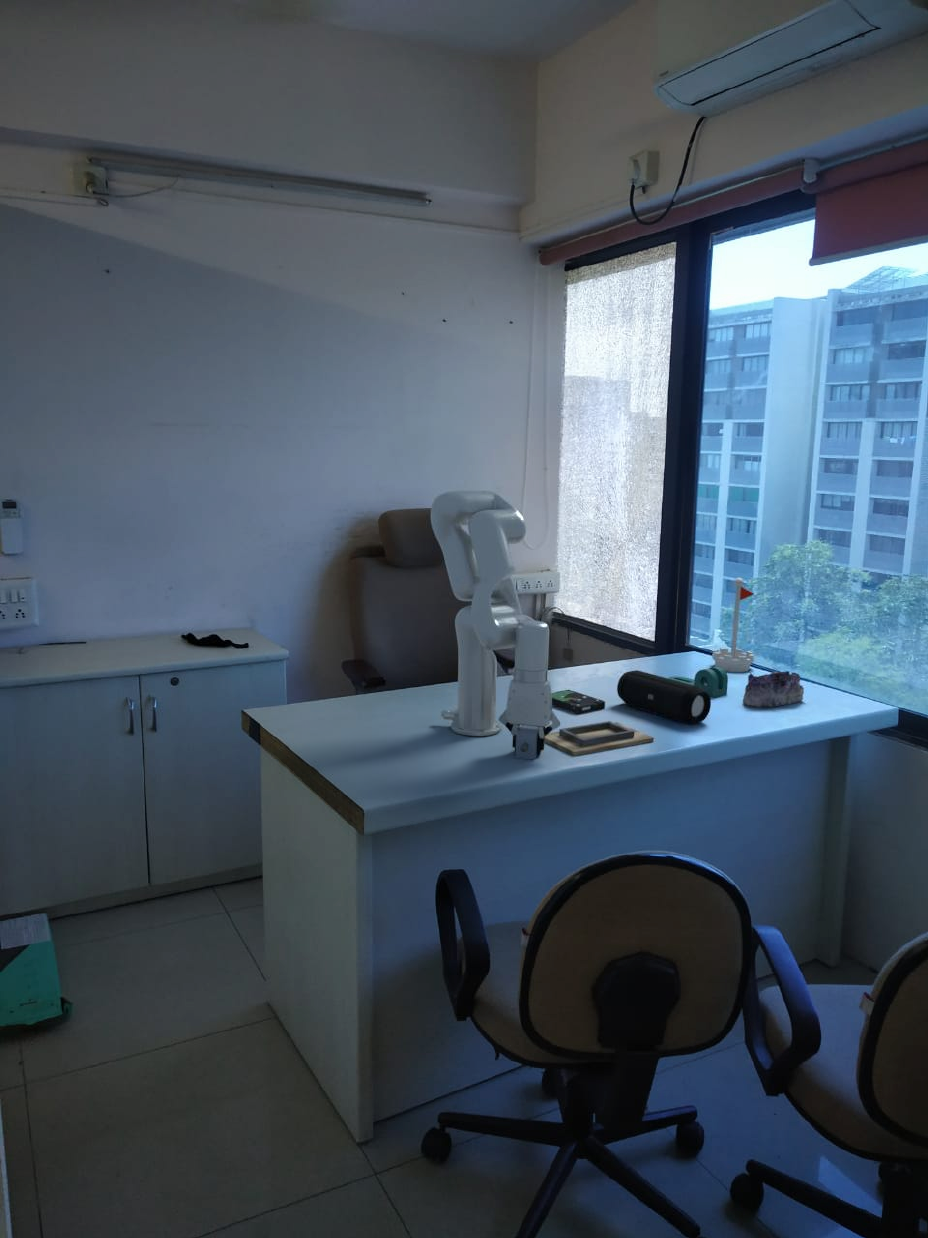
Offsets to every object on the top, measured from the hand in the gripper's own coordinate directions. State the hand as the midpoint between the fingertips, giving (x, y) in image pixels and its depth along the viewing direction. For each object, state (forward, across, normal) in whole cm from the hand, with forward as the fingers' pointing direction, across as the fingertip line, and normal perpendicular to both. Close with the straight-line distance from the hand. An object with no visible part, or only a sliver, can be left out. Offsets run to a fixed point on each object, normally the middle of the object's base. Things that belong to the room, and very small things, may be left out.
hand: (528, 751), depth 212 cm
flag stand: (+1, +48, +106) cm, 116 cm away
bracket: (+1, +36, +73) cm, 81 cm away
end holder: (+1, +14, +15) cm, 21 cm away
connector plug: (+1, 0, 0) cm, 1 cm away
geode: (+1, +58, +66) cm, 88 cm away
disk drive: (+1, +4, +44) cm, 44 cm away
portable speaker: (+1, +28, +44) cm, 52 cm away
